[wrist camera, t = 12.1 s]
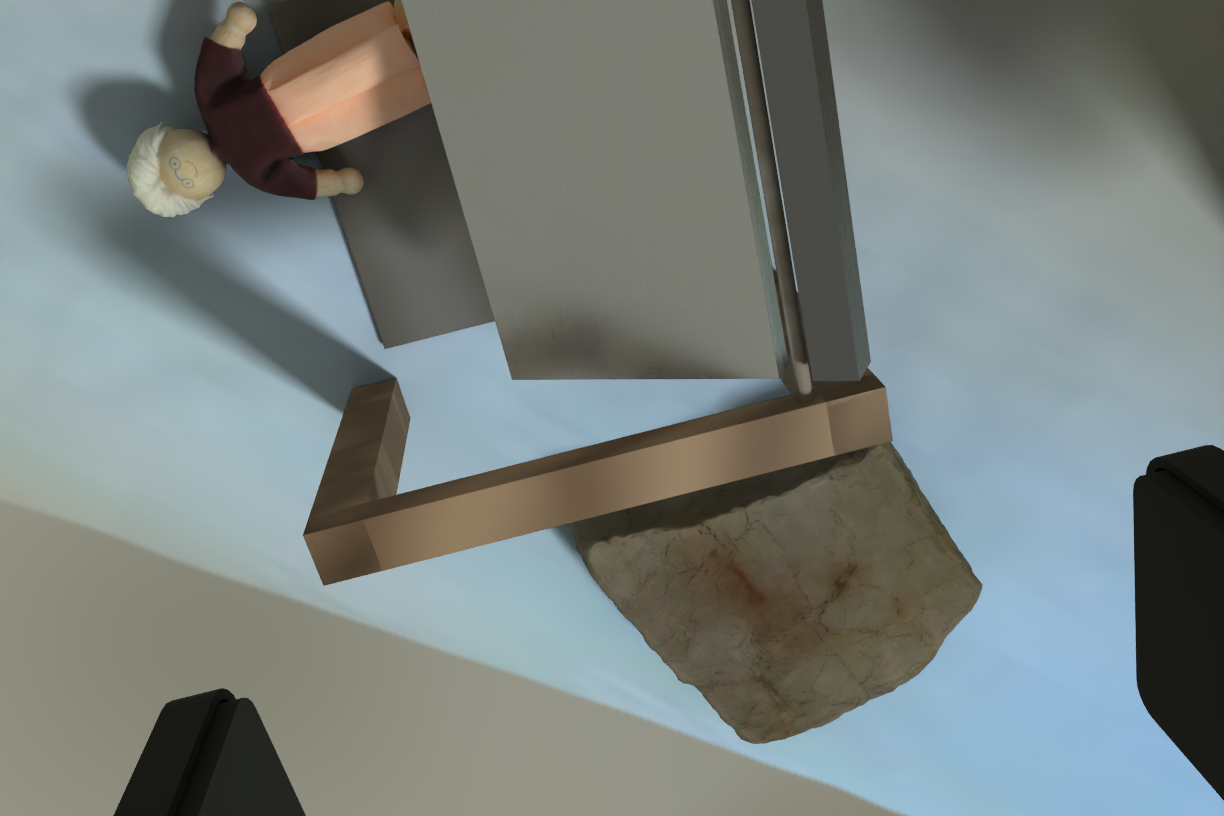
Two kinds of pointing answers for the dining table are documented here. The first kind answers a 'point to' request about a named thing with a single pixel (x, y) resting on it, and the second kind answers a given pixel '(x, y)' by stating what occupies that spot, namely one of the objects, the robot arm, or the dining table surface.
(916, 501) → the marble piece
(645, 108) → the trapdoor plate
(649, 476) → the frame
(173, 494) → the dining table surface
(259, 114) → the grandmother figurine
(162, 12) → the dining table surface
